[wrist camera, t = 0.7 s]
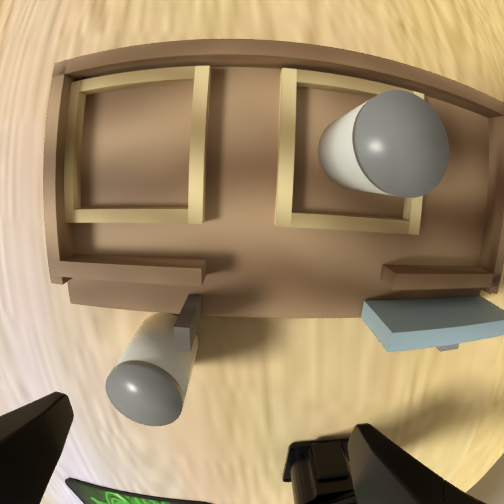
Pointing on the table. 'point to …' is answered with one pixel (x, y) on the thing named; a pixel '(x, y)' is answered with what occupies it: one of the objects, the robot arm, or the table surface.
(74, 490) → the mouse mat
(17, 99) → the table surface
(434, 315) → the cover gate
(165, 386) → the grey pin
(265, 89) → the tray
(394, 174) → the pin
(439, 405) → the table surface
